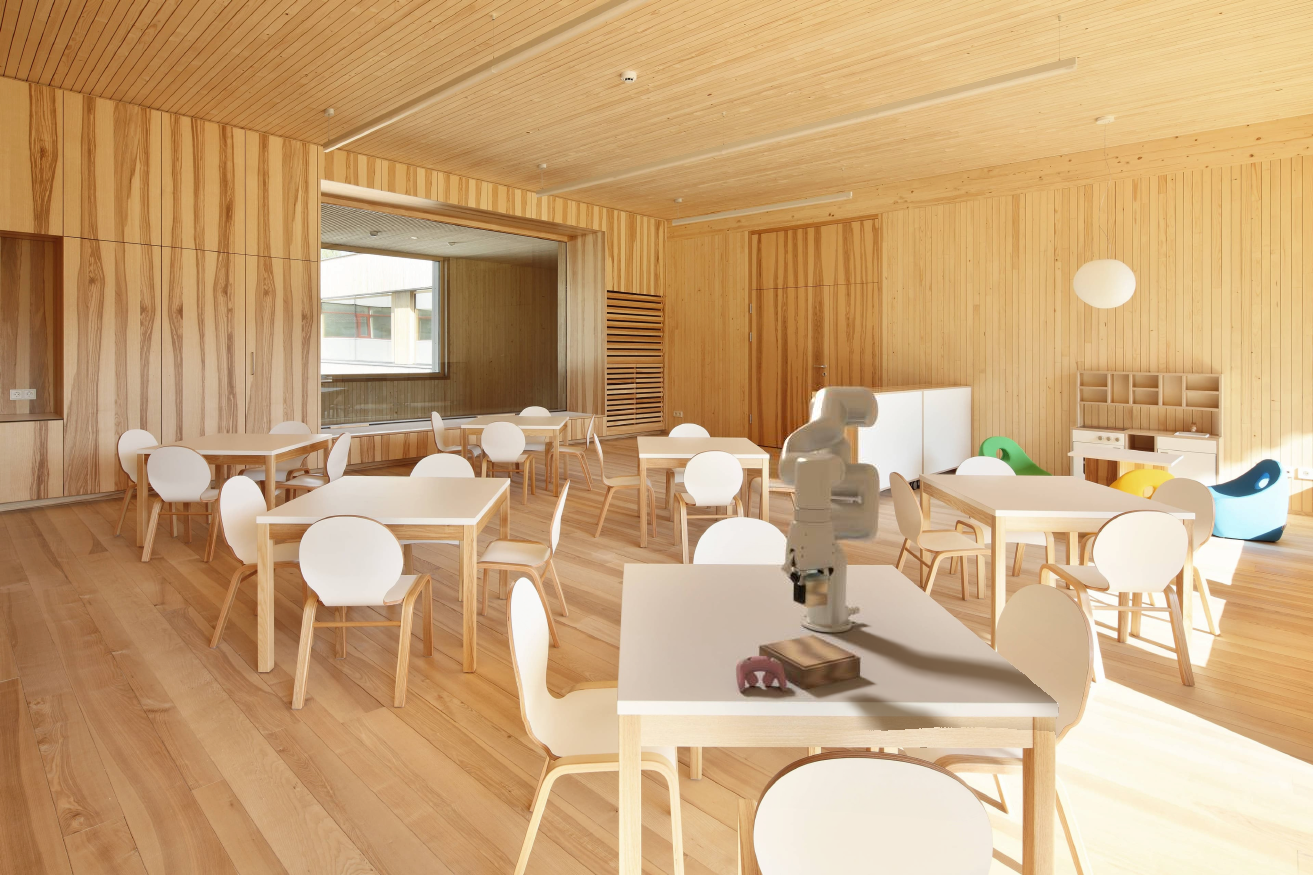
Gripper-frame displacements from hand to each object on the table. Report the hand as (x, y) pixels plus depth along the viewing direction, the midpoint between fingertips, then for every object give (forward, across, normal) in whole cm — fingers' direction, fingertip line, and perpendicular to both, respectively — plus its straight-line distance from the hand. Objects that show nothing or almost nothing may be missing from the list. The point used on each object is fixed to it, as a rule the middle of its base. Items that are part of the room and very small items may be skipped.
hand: (810, 599), depth 153 cm
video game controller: (+16, +14, +2) cm, 21 cm away
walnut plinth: (+15, 0, 0) cm, 15 cm away
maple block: (+1, 0, 0) cm, 1 cm away
